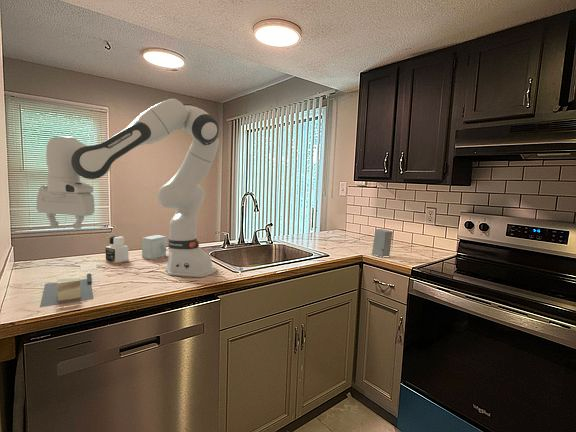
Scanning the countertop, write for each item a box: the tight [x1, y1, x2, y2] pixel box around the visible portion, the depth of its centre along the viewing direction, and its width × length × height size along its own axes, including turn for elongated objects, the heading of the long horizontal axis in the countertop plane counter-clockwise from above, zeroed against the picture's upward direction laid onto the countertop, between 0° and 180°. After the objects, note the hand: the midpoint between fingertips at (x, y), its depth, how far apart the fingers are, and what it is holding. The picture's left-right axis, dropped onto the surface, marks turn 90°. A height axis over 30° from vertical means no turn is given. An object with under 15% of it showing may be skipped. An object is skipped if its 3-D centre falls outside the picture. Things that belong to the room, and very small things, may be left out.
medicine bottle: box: [105, 235, 129, 264], centre depth 150 cm, size 7×7×12 cm
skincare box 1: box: [141, 234, 167, 260], centre depth 161 cm, size 10×6×10 cm, turn 156°
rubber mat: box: [39, 278, 95, 308], centre depth 109 cm, size 24×14×1 cm, turn 35°
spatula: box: [79, 262, 97, 284], centre depth 128 cm, size 6×29×2 cm, turn 33°
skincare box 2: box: [371, 228, 394, 258], centre depth 184 cm, size 8×7×16 cm
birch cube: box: [56, 275, 81, 302], centre depth 103 cm, size 6×6×6 cm
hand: (65, 227), depth 105 cm, fingers open, 8 cm apart
